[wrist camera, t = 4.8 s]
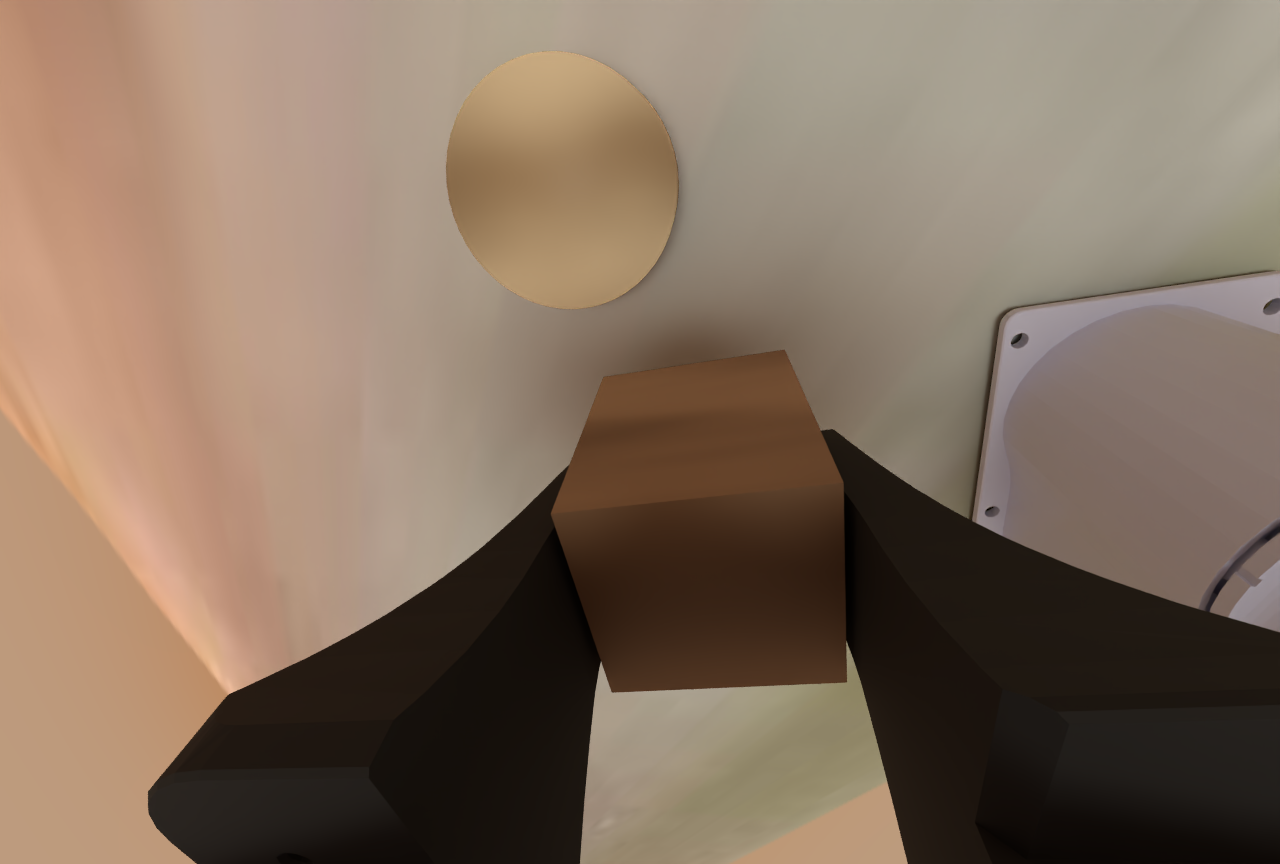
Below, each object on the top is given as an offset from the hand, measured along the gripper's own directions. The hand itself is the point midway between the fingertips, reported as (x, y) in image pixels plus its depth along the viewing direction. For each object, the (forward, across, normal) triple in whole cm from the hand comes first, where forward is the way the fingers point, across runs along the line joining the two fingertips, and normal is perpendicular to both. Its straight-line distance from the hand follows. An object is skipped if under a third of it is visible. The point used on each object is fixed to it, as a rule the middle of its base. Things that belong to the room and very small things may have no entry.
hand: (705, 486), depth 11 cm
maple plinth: (+9, +3, -6) cm, 11 cm away
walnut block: (+2, 0, 0) cm, 2 cm away
